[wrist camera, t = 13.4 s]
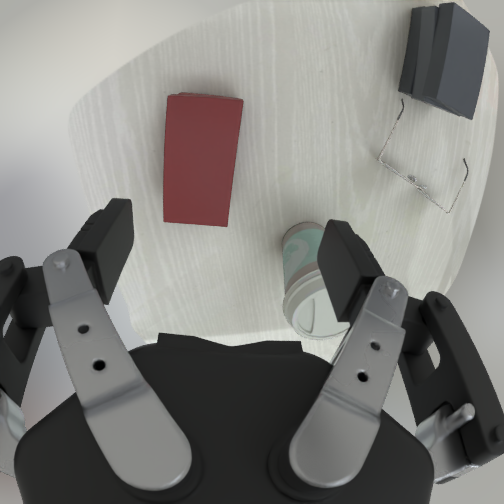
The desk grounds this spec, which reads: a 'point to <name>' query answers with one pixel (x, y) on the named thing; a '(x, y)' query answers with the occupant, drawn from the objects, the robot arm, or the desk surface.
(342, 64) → the desk surface
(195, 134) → the thin oxblood book
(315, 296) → the coffee cup
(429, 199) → the eyeglasses
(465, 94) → the grey books
